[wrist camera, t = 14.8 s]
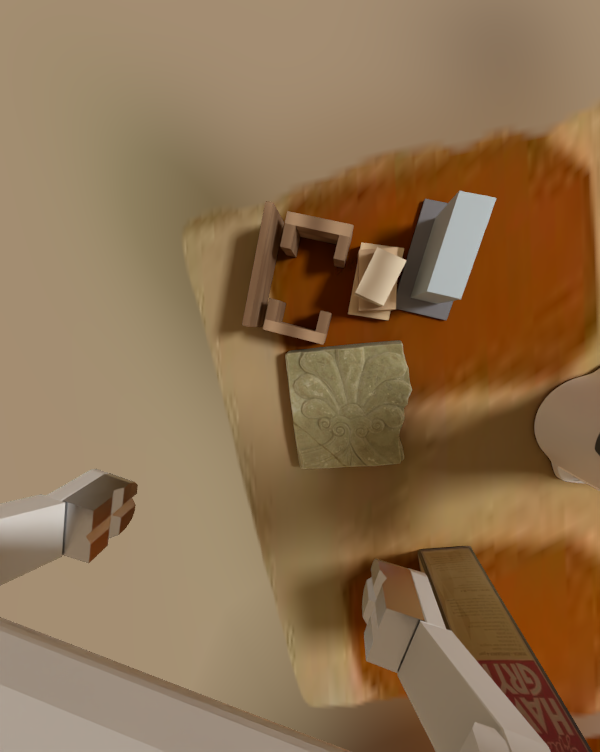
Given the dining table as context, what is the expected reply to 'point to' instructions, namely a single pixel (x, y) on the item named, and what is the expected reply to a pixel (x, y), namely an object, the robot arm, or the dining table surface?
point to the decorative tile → (348, 404)
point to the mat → (413, 264)
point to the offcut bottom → (354, 299)
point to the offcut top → (380, 277)
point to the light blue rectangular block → (452, 248)
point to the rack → (290, 241)
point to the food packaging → (498, 643)
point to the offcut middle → (363, 263)
